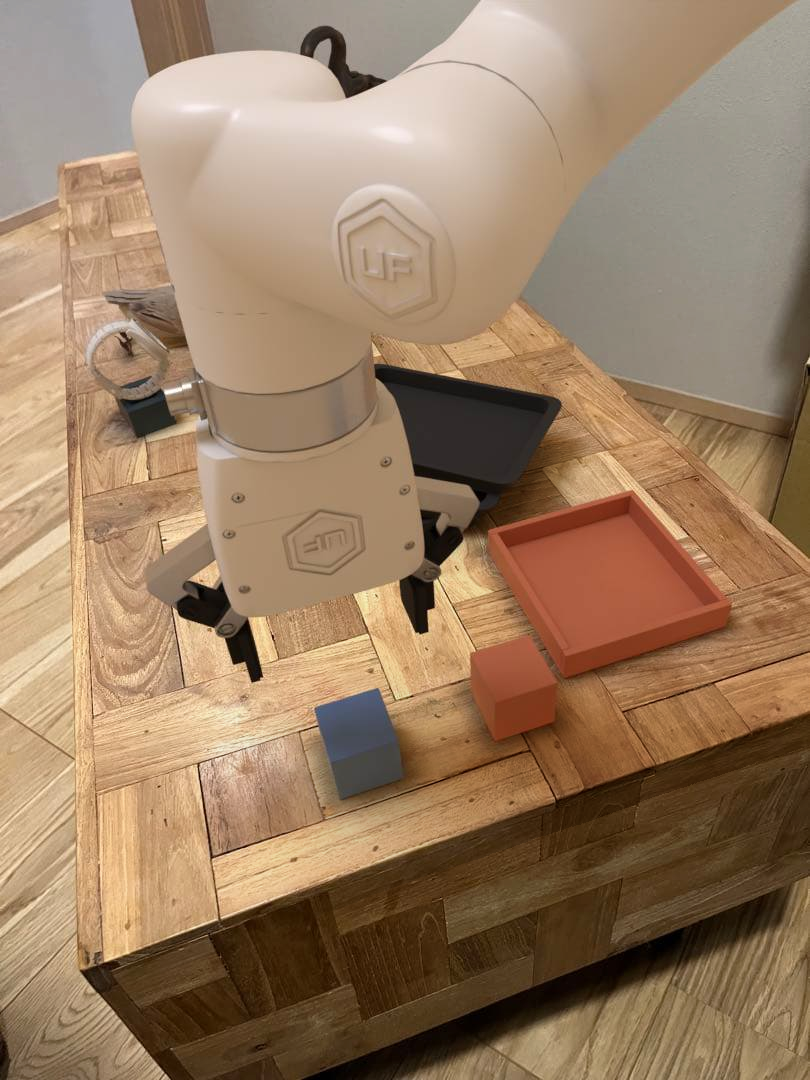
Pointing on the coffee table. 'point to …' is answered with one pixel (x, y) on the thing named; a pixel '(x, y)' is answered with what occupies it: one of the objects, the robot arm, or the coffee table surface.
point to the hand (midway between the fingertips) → (335, 639)
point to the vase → (339, 61)
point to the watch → (142, 397)
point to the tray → (468, 430)
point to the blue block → (359, 743)
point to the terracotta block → (513, 687)
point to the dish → (605, 582)
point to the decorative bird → (149, 311)
